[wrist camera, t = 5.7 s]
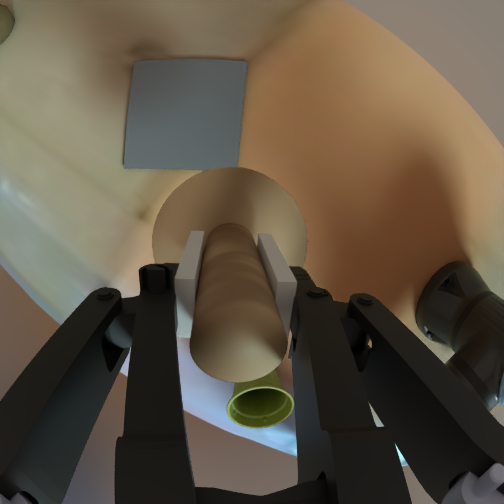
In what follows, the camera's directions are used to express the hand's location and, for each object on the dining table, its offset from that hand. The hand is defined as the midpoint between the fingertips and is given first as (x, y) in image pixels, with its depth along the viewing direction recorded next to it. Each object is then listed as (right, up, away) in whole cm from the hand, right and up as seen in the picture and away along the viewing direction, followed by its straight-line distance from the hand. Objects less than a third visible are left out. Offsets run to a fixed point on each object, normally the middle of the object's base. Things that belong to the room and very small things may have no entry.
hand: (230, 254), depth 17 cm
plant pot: (+2, -19, +27) cm, 33 cm away
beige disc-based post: (0, +1, +2) cm, 2 cm away
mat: (-7, +17, +14) cm, 23 cm away
